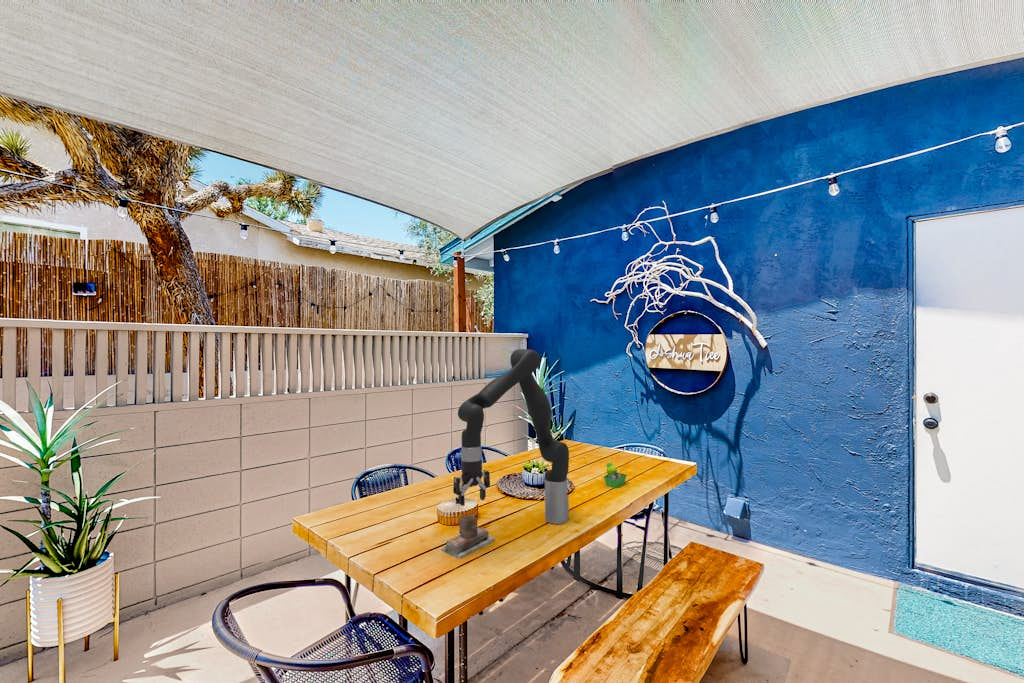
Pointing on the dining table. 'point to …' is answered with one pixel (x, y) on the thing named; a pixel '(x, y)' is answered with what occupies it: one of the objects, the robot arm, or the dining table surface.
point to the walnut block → (468, 526)
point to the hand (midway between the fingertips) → (472, 502)
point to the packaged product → (467, 543)
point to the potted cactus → (614, 477)
